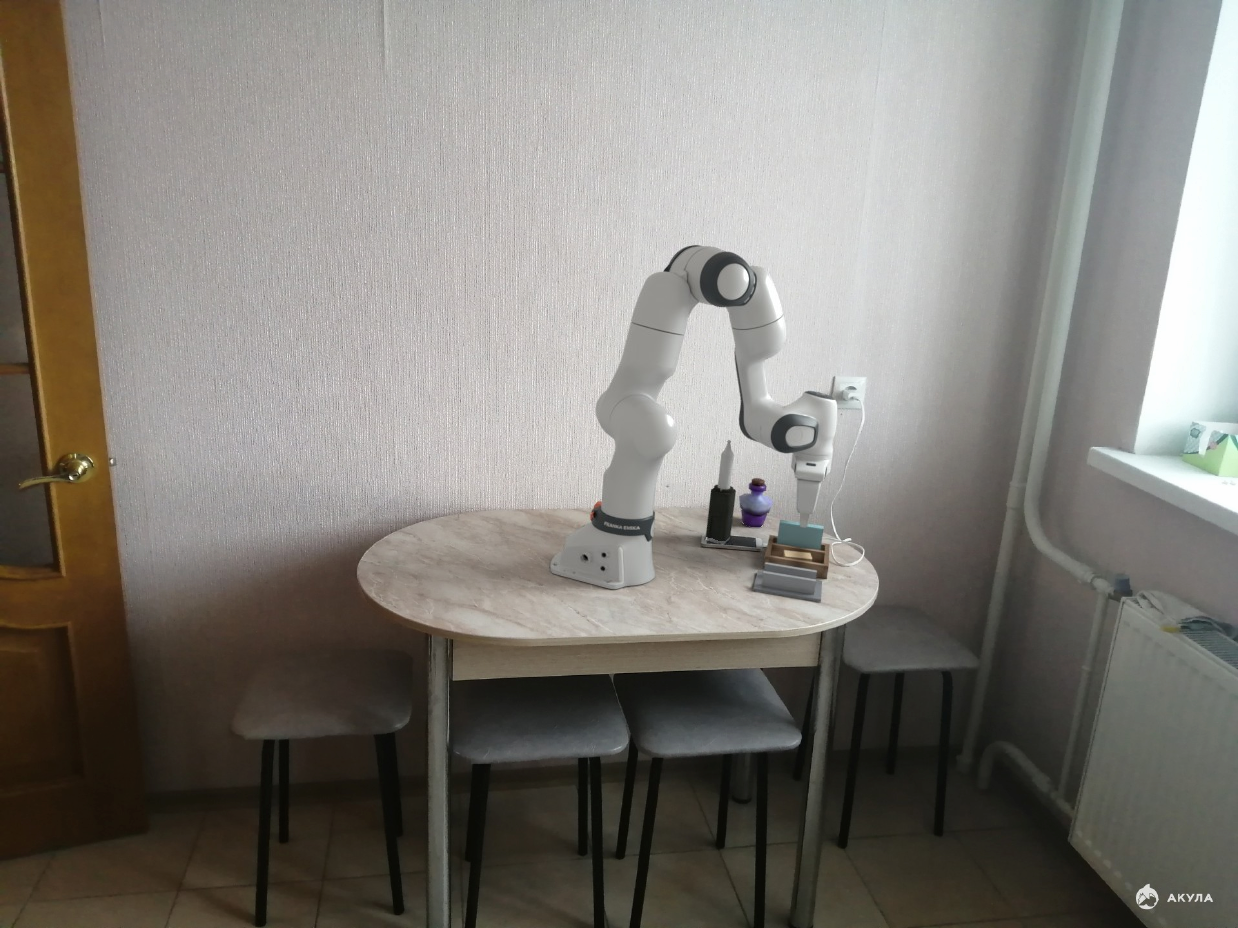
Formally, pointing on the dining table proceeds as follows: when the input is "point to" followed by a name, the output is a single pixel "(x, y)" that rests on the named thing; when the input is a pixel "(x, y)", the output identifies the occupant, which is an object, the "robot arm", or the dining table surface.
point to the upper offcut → (797, 555)
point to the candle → (722, 500)
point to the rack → (818, 560)
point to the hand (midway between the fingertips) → (804, 519)
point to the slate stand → (789, 582)
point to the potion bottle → (755, 504)
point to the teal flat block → (800, 535)
